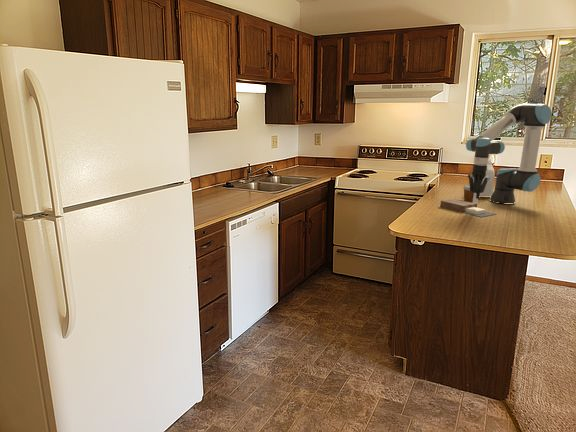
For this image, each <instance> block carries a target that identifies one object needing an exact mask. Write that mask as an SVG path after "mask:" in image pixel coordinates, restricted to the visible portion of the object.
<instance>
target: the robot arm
mask: <svg viewBox="0 0 576 432" xmlns="http://www.w3.org/2000/svg"><path fill="white" fill-rule="evenodd" d="M551 119H552V109H551V107H550V106H549V105H548V104H544V103H521V104H518V105H515V106H514V107H512V108H510V109H508V110H507V111H506V112H504V113H503V114H502V117H501V118H499V119H498V120H496V122H494V123H493V124H492V125H491V126H489V127H488V128H487V129H486V130H484V131H483V132H482V133H480V134H479V135H478V136H477V137H476V138H470V139H467V141H466V142H465V148H466V150H467V151H470V152H474V158H473V165H472V172H471V174H468V175H467V177H468V183H469V184H468V185H470V191H472V192H473V195H472V198H473V203H472V204H477V205H478V202H479V201H478V200H479V199H480V198H479V196H480V193H483V192H484V189H485V187H486V184H487V181H488V180H489V179H490V178H488V177H487V176H486V171H487V164H488V160H489V155H500V154H502V153H504V151H505V149H506V148H505V147H506V146H505V143H504V142H502V141H500V140H495V139H496V138H498V137H499V136H500V135H501V134H503V133H504V132H505V131H506V130H507V129H509V128H510V127H513V126H515V125H517V124H520V123H522V124H523V127H524V128H525V132H524V141H523V147H522V151H521V158H520V165H519V167H518V168H515V167H514V168H511V167H510V168H508V167H507V168H499V169H498V170H497V173H496V177H495V178H496V179H495V183H494V186H495V187H494V189H493V194H492V196H491V198H489V201H490V200H491V201H494V202H499V203H514V202H515V203H516V197H515V190H518V191H523V192H529V193H531V192H534V191H536V190H537V189H538V187H539V186H540V183H541V175H540V174H538V169H537V168H536V165H537V159H538V153H539V149H540V143H541V142H540V141H541V136H542V130H543V129H544V128H545V127H546V125H547V124H549V122H550V121H551ZM494 140H495V141H494ZM473 178H474V180H473ZM483 179H484V181H483ZM482 182H483V183H482ZM491 201H490V202H491Z"/></svg>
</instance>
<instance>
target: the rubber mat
mask: <svg viewBox="0 0 576 432" xmlns="http://www.w3.org/2000/svg"><path fill="white" fill-rule="evenodd" d="M462 214H466V215H470V216H475V217H479V218H484V217H490V215H491V216H495V214H496V213H494V212H490V211H486V210H485V213H481V214H474V213H470V212H462Z"/></svg>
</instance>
